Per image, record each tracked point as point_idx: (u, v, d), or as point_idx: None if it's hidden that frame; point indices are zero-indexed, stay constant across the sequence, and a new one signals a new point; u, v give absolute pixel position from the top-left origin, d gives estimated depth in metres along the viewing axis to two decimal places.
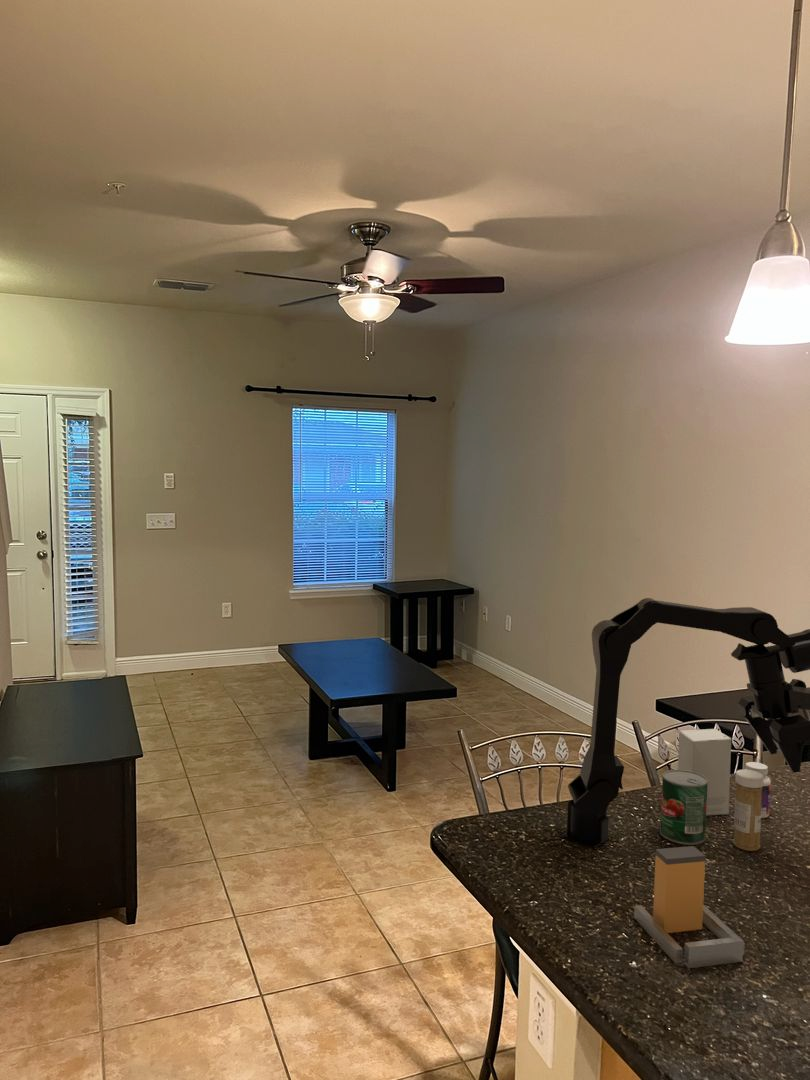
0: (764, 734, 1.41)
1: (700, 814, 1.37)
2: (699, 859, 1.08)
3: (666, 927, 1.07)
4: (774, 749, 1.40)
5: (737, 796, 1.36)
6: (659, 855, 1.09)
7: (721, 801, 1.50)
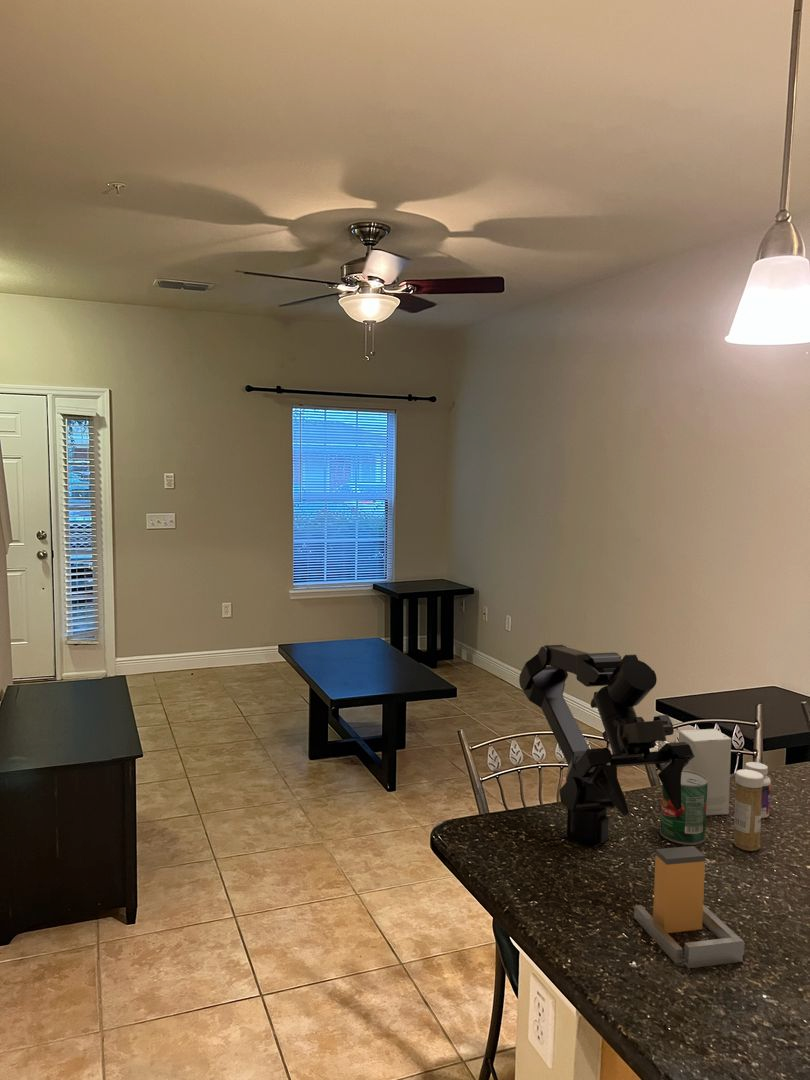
0: (669, 787, 1.22)
1: (700, 814, 1.37)
2: (699, 859, 1.08)
3: (666, 927, 1.07)
4: (676, 804, 1.20)
5: (737, 796, 1.36)
6: (659, 855, 1.09)
7: (721, 801, 1.50)
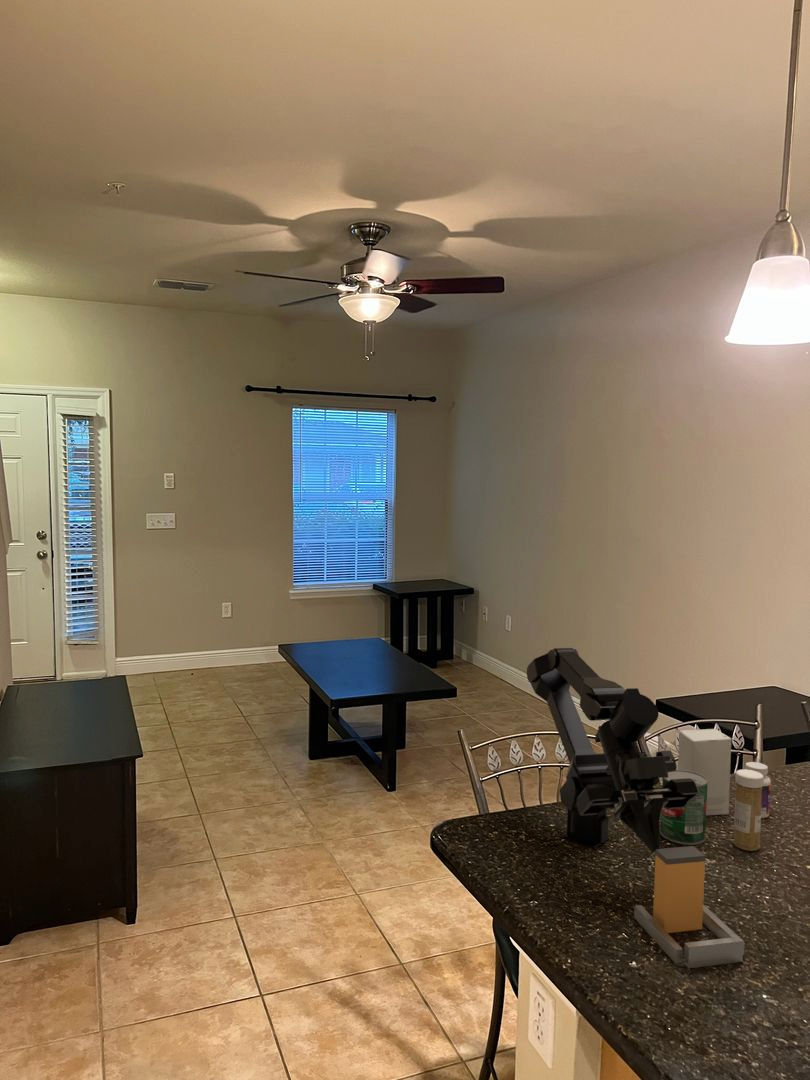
0: None
1: (700, 814, 1.37)
2: (699, 859, 1.08)
3: (666, 927, 1.07)
4: None
5: (737, 796, 1.36)
6: (659, 855, 1.09)
7: (721, 801, 1.50)
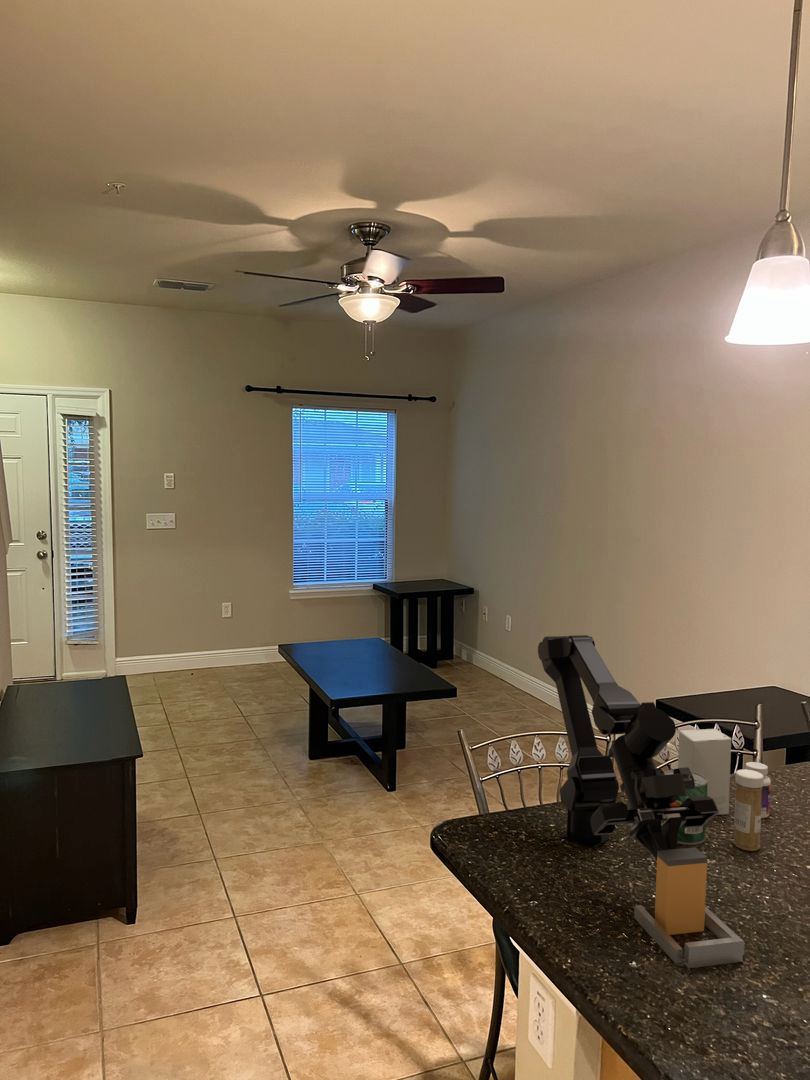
0: None
1: None
2: (701, 861, 1.07)
3: (668, 929, 1.07)
4: None
5: (737, 796, 1.36)
6: (661, 857, 1.08)
7: (721, 801, 1.50)
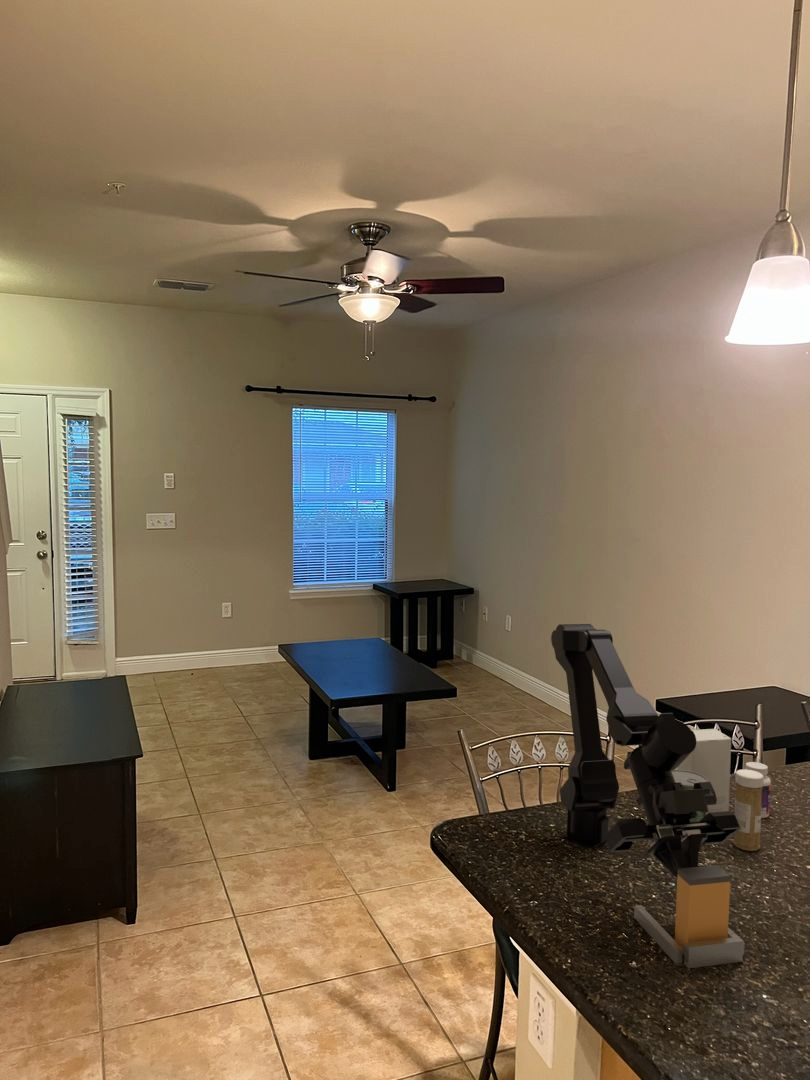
0: None
1: (700, 814, 1.37)
2: (724, 879, 1.02)
3: None
4: None
5: (737, 796, 1.36)
6: (681, 875, 1.03)
7: (721, 801, 1.50)
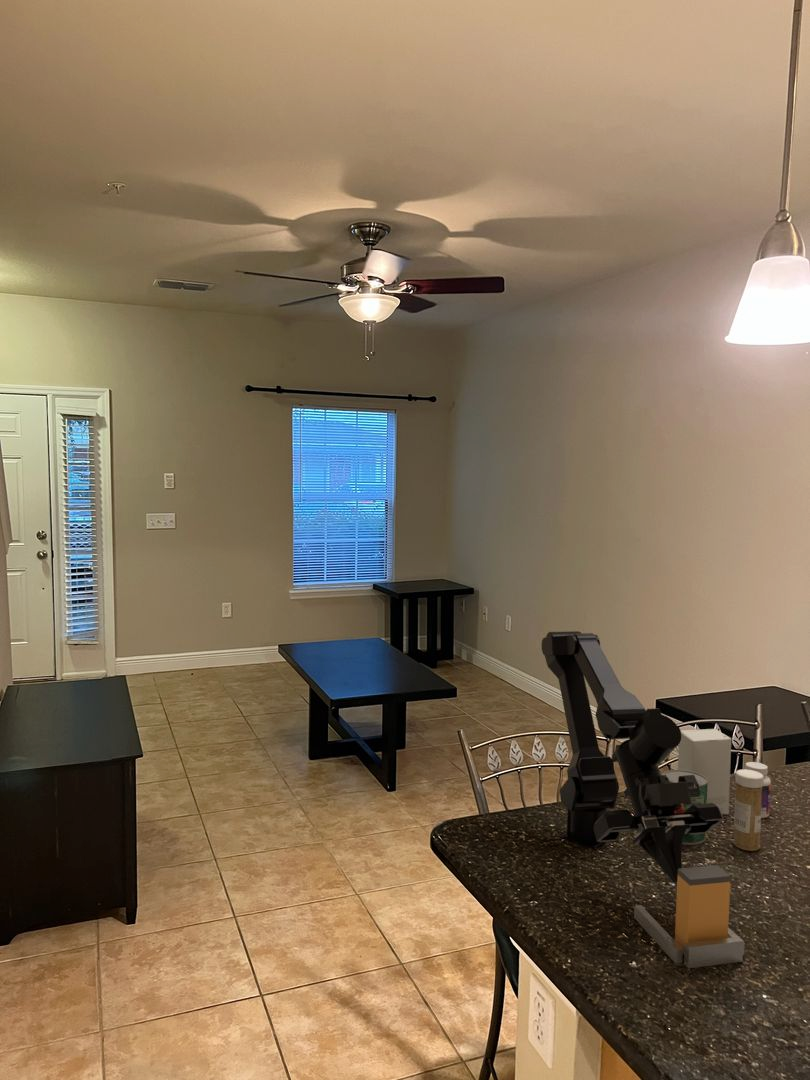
0: None
1: None
2: (724, 879, 1.02)
3: None
4: None
5: (737, 796, 1.36)
6: (682, 875, 1.03)
7: (721, 801, 1.50)
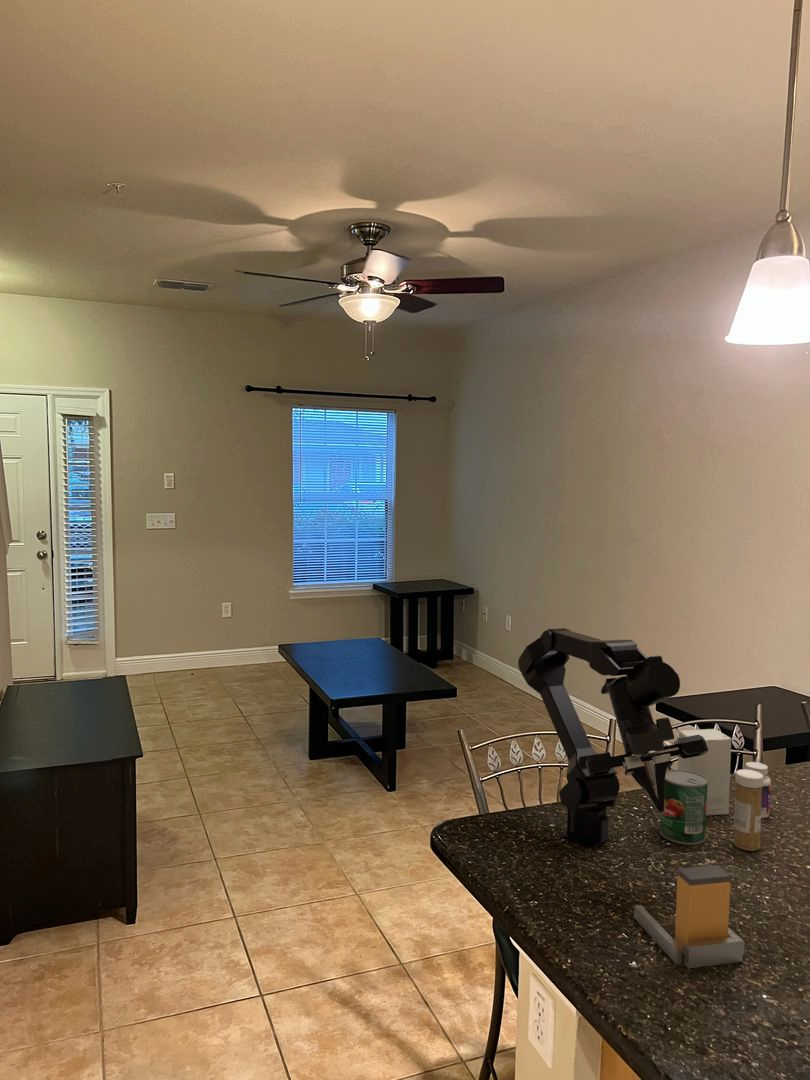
0: (656, 786, 1.22)
1: (700, 814, 1.37)
2: (724, 879, 1.02)
3: None
4: None
5: (737, 796, 1.36)
6: (682, 875, 1.03)
7: (721, 801, 1.50)
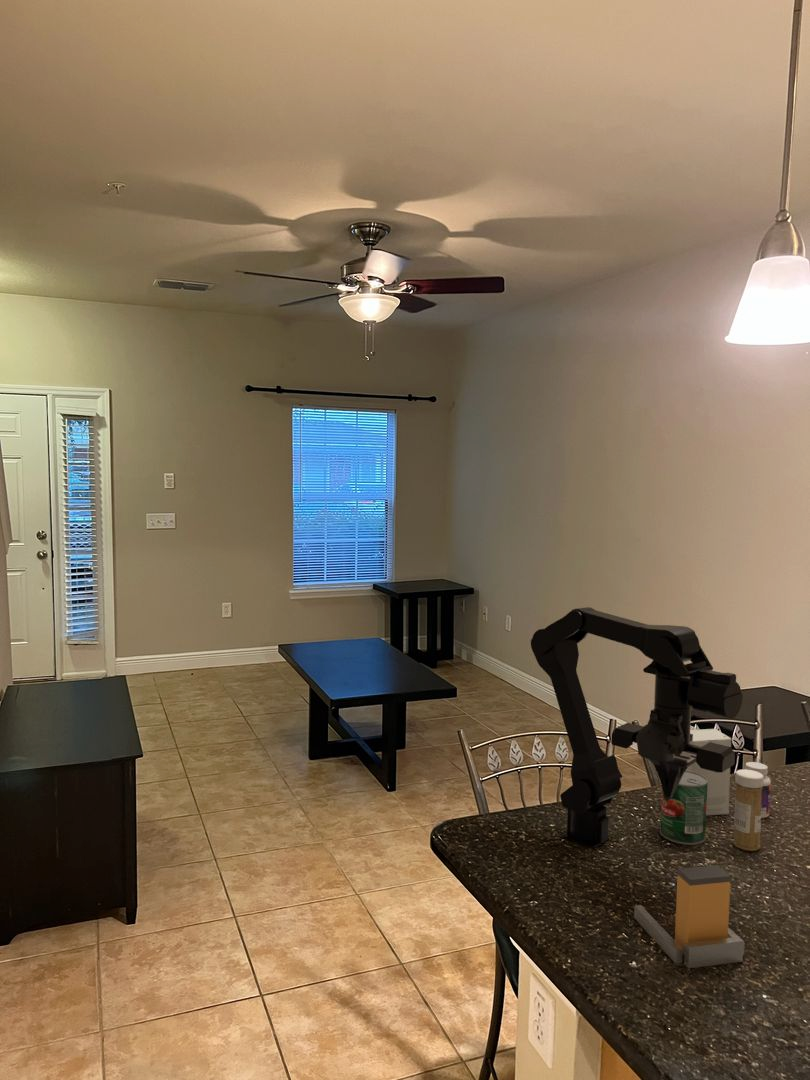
0: None
1: (700, 814, 1.37)
2: (724, 879, 1.02)
3: None
4: None
5: (737, 796, 1.36)
6: (682, 875, 1.03)
7: (721, 801, 1.50)
